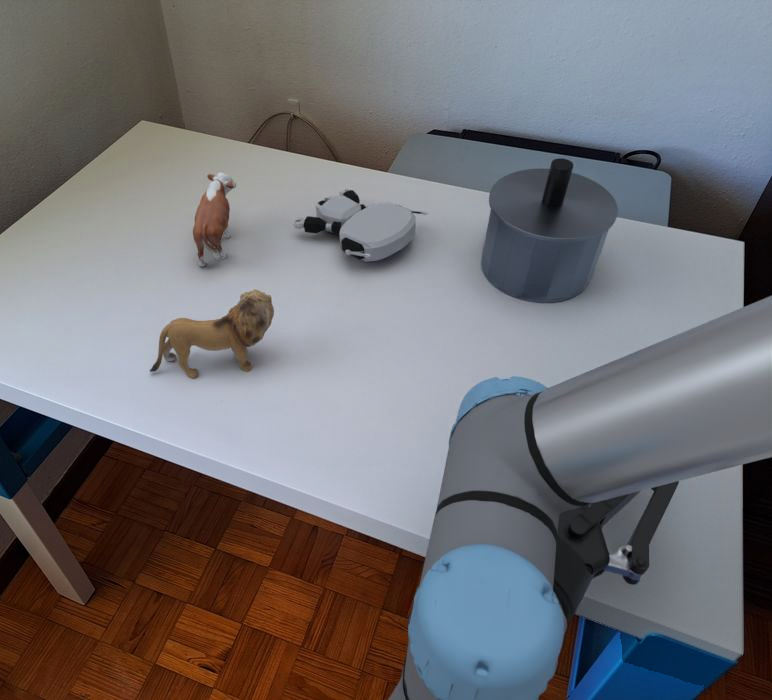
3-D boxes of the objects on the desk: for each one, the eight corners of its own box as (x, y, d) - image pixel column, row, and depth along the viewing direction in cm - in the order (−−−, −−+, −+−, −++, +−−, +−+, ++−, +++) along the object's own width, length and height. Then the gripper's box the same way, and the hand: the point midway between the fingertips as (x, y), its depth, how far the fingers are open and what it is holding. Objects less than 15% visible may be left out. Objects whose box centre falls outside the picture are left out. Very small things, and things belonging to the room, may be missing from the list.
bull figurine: (245, 216, 98) (239, 165, 92) (221, 276, 89) (213, 224, 83) (215, 214, 99) (207, 163, 93) (189, 273, 89) (179, 221, 84)
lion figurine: (272, 333, 81) (267, 275, 75) (282, 365, 77) (277, 306, 71) (148, 359, 79) (131, 301, 72) (153, 393, 75) (135, 335, 69)
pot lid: (633, 200, 82) (650, 154, 78) (585, 263, 74) (601, 216, 70) (520, 163, 89) (530, 119, 84) (465, 218, 81) (473, 172, 76)
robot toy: (289, 242, 95) (373, 282, 86) (285, 214, 92) (372, 253, 83) (347, 204, 101) (431, 238, 92) (346, 176, 97) (432, 209, 89)
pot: (607, 259, 88) (629, 196, 82) (563, 318, 81) (584, 254, 74) (510, 223, 95) (523, 162, 88) (462, 275, 87) (472, 213, 80)
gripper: (412, 551, 57) (534, 382, 70) (625, 688, 49) (720, 469, 62) (420, 504, 52) (550, 329, 64) (660, 649, 44) (756, 417, 56)
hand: (633, 398), depth 63 cm, fingers closed on pepper mill, 5 cm apart
